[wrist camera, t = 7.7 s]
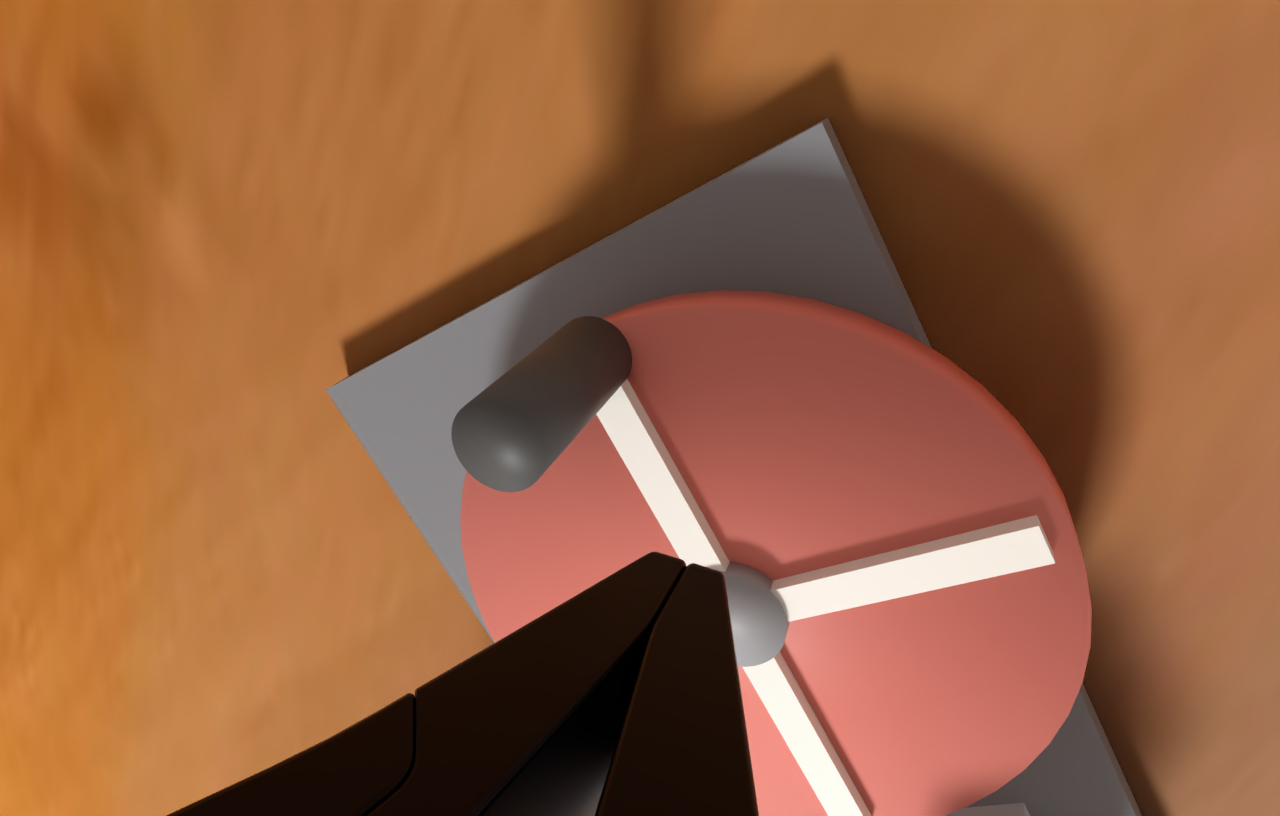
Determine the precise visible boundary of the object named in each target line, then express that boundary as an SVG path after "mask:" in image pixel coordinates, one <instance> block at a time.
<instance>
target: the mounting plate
mask: <svg viewBox="0 0 1280 816" xmlns="http://www.w3.org/2000/svg"><path fill="white" fill-rule="evenodd" d="M717 290H732V291H761V292H772V293H778V294H784V295H790V296H796V297H802V298H809V299H814V300H817V301H821V302H824V303H828V304H831V305H834V306H838V307H841V308H845V309H848V310H851V311H855V312H858V313H861V314H863V315H865V316H868V317H870V318H872V319H875V320H877V321H879V322H882V323H884V324H886V325H889V326H891V327H893V328H895V329H898V330H900V331H902V332H905V333H906V334H908V335H910V336H911V337H913V338H915V339H916V340H918V341H920V342H921V343H923V344H925V345H927V346H928V347H930V348H932V347H931V345H930V343H929V341H928V338H927V336H926V334H925V332H924V330H923V327H922V325H921V323H920V321H919V318H918V316H917V314H916V312H915V310H914V307H913V305H912V303H911V301H910V298H909V296H908V294H907V292H906V290H905V287H904V285H903V283H902V281H901V278H900V276H899V274H898V272H897V270H896V267H895V265H894V263H893V261H892V258H891V256H890V254H889V252H888V250H887V247H886V245H885V243H884V241H883V238H882V236H881V234H880V232H879V229H878V227H877V225H876V223H875V221H874V218H873V216H872V214H871V212H870V209H869V207H868V205H867V203H866V201H865V198H864V196H863V194H862V192H861V189H860V187H859V185H858V183H857V181H856V178H855V176H854V174H853V172H852V169H851V167H850V165H849V163H848V161H847V158H846V156H845V154H844V152H843V149H842V147H841V145H840V143H839V141H838V138H837V136H836V134H835V132H834V129H833V127H832V125H831V123H830V121H829V118H826V119H824V120H822V121H820V122H818V123H816V124H815V125H813V126H811V127H809V128H807V129H805V130H803V131H802V132H800V133H798V134H796V135H794V136H792V137H791V138H789V139H787V140H785V141H783V142H781V143H779V144H778V145H776V146H774V147H772V148H770V149H768V150H766V151H765V152H763V153H761V154H759V155H757V156H755V157H754V158H752V159H750V160H748V161H746V162H744V163H742V164H741V165H739V166H737V167H735V168H733V169H731V170H729V171H728V172H726V173H724V174H722V175H720V176H718V177H717V178H715V179H713V180H711V181H709V182H707V183H705V184H704V185H702V186H700V187H698V188H696V189H694V190H692V191H691V192H689V193H687V194H685V195H683V196H681V197H679V198H678V199H676V200H674V201H672V202H670V203H668V204H667V205H665V206H663V207H661V208H659V209H657V210H655V211H654V212H652V213H650V214H648V215H646V216H644V217H642V218H641V219H639V220H637V221H635V222H633V223H631V224H630V225H628V226H626V227H624V228H622V229H620V230H618V231H617V232H615V233H613V234H611V235H609V236H607V237H605V238H604V239H602V240H600V241H598V242H596V243H594V244H593V245H591V246H589V247H587V248H585V249H583V250H581V251H580V252H578V253H576V254H574V255H572V256H570V257H568V258H567V259H565V260H563V261H561V262H559V263H557V264H555V265H554V266H552V267H550V268H548V269H546V270H544V271H543V272H541V273H539V274H537V275H535V276H533V277H531V278H530V279H528V280H526V281H524V282H522V283H520V284H518V285H517V286H515V287H513V288H511V289H509V290H507V291H506V292H504V293H502V294H500V295H498V296H496V297H494V298H493V299H491V300H489V301H487V302H485V303H483V304H481V305H480V306H478V307H476V308H474V309H472V310H470V311H469V312H467V313H465V314H463V315H461V316H459V317H457V318H456V319H454V320H452V321H450V322H448V323H446V324H444V325H443V326H441V327H439V328H437V329H435V330H433V331H431V332H430V333H428V334H426V335H424V336H422V337H420V338H419V339H417V340H415V341H413V342H411V343H409V344H407V345H406V346H404V347H402V348H400V349H398V350H396V351H394V352H393V353H391V354H389V355H387V356H385V357H383V358H382V359H380V360H378V361H376V362H374V363H372V364H370V365H369V366H367V367H365V368H363V369H361V370H359V371H357V372H356V373H354V374H352V375H350V376H348V377H346V378H345V379H343V380H341V381H340V382H338V383H336V384H335V385H333V386H331V387H330V388H328V389H326V391H327V392H328V394H329V395H330V397H331V398H332V400H333V401H334V403H335V404H336V406H337V407H338V409H339V410H340V412H341V413H342V415H343V416H344V418H345V419H346V421H347V423H348V424H349V426H350V427H351V429H352V430H353V432H354V433H355V435H356V436H357V438H358V439H359V441H360V442H361V444H362V445H363V447H364V448H365V450H366V451H367V453H368V454H369V456H370V457H371V459H372V460H373V462H374V463H375V465H376V466H377V468H378V469H379V471H380V472H381V474H382V475H383V477H384V478H385V480H386V481H387V483H388V484H389V486H390V487H391V489H392V490H393V492H394V493H395V495H396V496H397V498H398V499H399V501H400V502H401V504H402V505H403V507H404V508H405V510H406V511H407V513H408V514H409V516H410V517H411V519H412V520H413V522H414V523H415V525H416V526H417V528H418V529H419V531H420V532H421V534H422V535H423V537H424V538H425V540H426V541H427V543H428V544H429V546H430V547H431V549H432V550H433V552H434V553H435V555H436V556H437V558H438V559H439V561H440V562H441V564H442V565H443V567H444V568H445V570H446V571H447V573H448V574H449V576H450V577H451V579H452V580H453V582H454V583H455V585H456V586H457V588H458V589H459V591H460V592H461V594H462V595H463V597H464V598H465V600H466V601H467V603H468V604H469V606H470V607H471V609H472V610H473V612H474V613H475V615H476V616H477V618H478V619H479V621H480V622H481V624H482V625H483V627H484V628H485V630H486V631H487V633H488V634H489V636H490V637H491V639H492V640H493V638H492V636H491V635H490V633H489V630H488V628H487V626H486V624H485V622H484V620H483V617H482V615H481V613H480V611H479V609H478V606H477V604H476V601H475V598H474V594H473V591H472V588H471V585H470V582H469V579H468V576H467V570H466V565H465V560H464V555H463V550H462V539H461V521H460V514H461V502H462V491H463V484H464V480H465V476H466V472H467V470H466V469H465V468H464V467H463V465H462V464H461V463H460V461H459V459H458V457H457V455H456V453H455V450H454V447H453V443H452V436H451V431H452V424H453V421H454V418H455V416H456V414H457V413H458V412H459V410H460V409H461V408H462V407H464V406H465V405H466V404H467V403H469V402H470V401H471V400H472V399H474V398H475V397H476V396H477V395H479V394H480V393H481V392H482V391H484V390H485V389H486V388H487V387H488V386H490V385H491V384H492V383H493V382H495V381H496V380H497V379H498V378H500V377H501V376H502V375H503V374H505V373H506V372H507V371H508V370H510V369H511V368H512V367H513V366H515V365H516V364H517V363H518V362H520V361H521V360H522V359H523V358H525V357H526V356H527V355H528V354H530V353H531V352H532V351H533V350H535V349H536V348H537V347H538V346H540V345H541V344H542V343H543V342H545V341H546V340H547V339H548V338H550V337H551V336H552V335H553V334H554V333H556V332H557V331H558V330H559V329H561V328H562V327H563V326H564V325H566V324H567V323H568V322H570V321H571V320H573V319H575V318H578V317H582V316H594V317H598V318H603V317H606V316H608V315H611V314H613V313H616V312H618V311H621V310H624V309H626V308H629V307H631V306H634V305H636V304H639V303H643V302H648V301H652V300H656V299H660V298H665V297H669V296H673V295H677V294H686V293H697V292H707V291H717ZM493 642H494V643H495V641H494V640H493ZM944 816H1142V814H1141V812H1140V810H1139V807H1138V805H1137V803H1136V801H1135V798H1134V796H1133V794H1132V792H1131V790H1130V787H1129V785H1128V783H1127V781H1126V778H1125V776H1124V774H1123V772H1122V770H1121V767H1120V765H1119V763H1118V761H1117V758H1116V756H1115V754H1114V752H1113V750H1112V747H1111V745H1110V743H1109V741H1108V738H1107V736H1106V734H1105V732H1104V730H1103V727H1102V725H1101V723H1100V721H1099V718H1098V716H1097V714H1096V712H1095V710H1094V707H1093V705H1092V703H1091V701H1090V698H1089V696H1088V694H1087V692H1086V690H1085V687H1084V685H1083V683H1082V685H1081V688H1080V690H1079V692H1078V695H1077V697H1076V699H1075V701H1074V704H1073V706H1072V708H1071V711H1070V713H1069V715H1068V717H1067V718H1066V720H1065V721H1064V723H1063V724H1062V726H1061V727H1060V729H1059V730H1058V732H1057V733H1056V735H1055V736H1054V738H1053V739H1052V741H1051V742H1050V744H1049V745H1048V746H1047V747H1046V748H1045V749H1044V750H1043V751H1042V752H1041V753H1040V754H1039V755H1038V756H1037V757H1036V758H1035V760H1034V761H1033V762H1032V763H1031V764H1030V765H1029V766H1028V767H1027V768H1026V769H1025V770H1024V771H1022V772H1021V773H1020V774H1018V775H1017V776H1016V777H1014V778H1013V779H1012V780H1010V781H1009V782H1008V783H1006V784H1005V785H1004V786H1002V787H1001V788H1000V789H998V790H997V791H995V792H993V793H991V794H989V795H988V796H986V797H984V798H982V799H980V800H978V801H977V802H975V803H973V804H971V805H969V806H967V807H965V808H962V809H960V810H957V811H955V812H952V813H949V814H947V815H944Z"/></svg>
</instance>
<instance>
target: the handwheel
mask: <svg viewBox="0 0 1280 816" xmlns="http://www.w3.org/2000/svg"><path fill="white" fill-rule="evenodd" d="M451 436H452V443H453V447H454V450H455V453H456V455H457V457H458V459H459V461H460V463H461V464H462V465H463V467H464V468H465V469H466V470H467V472H466V476H465V480H464V484H463V491H462V502H461V514H460V521H461V539H462V550H463V555H464V560H465V565H466V570H467V576H468V579H469V582H470V585H471V588H472V591H473V594H474V598H475V601H476V604H477V606H478V609H479V611H480V613H481V615H482V617H483V620H484V622H485V624H486V626H487V628H488V630H489V633H490V635H491V636H492V638H493V640H494V641H495V643H496V642H497V641H499V640H501V639H502V638H504V637H506V636H508V635H509V634H511V633H513V632H514V631H516V630H518V629H520V628H521V627H523V626H525V625H526V624H528V623H530V622H531V621H533V620H535V619H537V618H538V617H540V616H542V615H543V614H545V613H547V612H549V611H550V610H552V609H554V608H555V607H557V606H559V605H560V604H562V603H564V602H566V601H567V600H569V599H571V598H572V597H574V596H576V595H578V594H579V593H581V592H583V591H584V590H586V589H588V588H589V587H591V586H593V585H595V584H596V583H598V582H600V581H601V580H603V579H605V578H607V577H608V576H610V575H612V574H613V573H615V572H617V571H618V570H620V569H622V568H624V567H625V566H627V565H629V564H630V563H632V562H634V561H636V560H637V559H639V558H641V557H642V556H644V555H646V554H648V553H650V552H654V551H655V552H660V553H663V554H666V555H669V556H673V557H676V558H679V559H682V560H684V561H685V563H686V566H688V565H689V564H692V563H695V564H698V565H702V566H705V567H708V568H711V569H714V570H718V571H720V572H722V573H723V575H724V577H725V583H726V589H727V596H728V603H729V610H730V617H731V624H732V631H733V638H734V645H735V652H736V659H737V666H738V673H739V680H740V687H741V694H742V701H743V708H744V715H745V722H746V729H747V735H748V742H749V749H750V756H751V763H752V770H753V777H754V784H755V791H756V798H757V805H758V812H759V816H944V815H947V814H949V813H952V812H955V811H957V810H960V809H962V808H965V807H967V806H969V805H971V804H973V803H975V802H977V801H978V800H980V799H982V798H984V797H986V796H988V795H989V794H991V793H993V792H995V791H997V790H998V789H1000V788H1001V787H1002V786H1004V785H1005V784H1006V783H1008V782H1009V781H1010V780H1012V779H1013V778H1014V777H1016V776H1017V775H1018V774H1020V773H1021V772H1022V771H1024V770H1025V769H1026V768H1027V767H1028V766H1029V765H1030V764H1031V763H1032V762H1033V761H1034V760H1035V758H1036V757H1037V756H1038V755H1039V754H1040V753H1041V752H1042V751H1043V750H1044V749H1045V748H1046V747H1047V746H1048V745H1049V744H1050V742H1051V741H1052V739H1053V738H1054V736H1055V735H1056V733H1057V732H1058V730H1059V729H1060V727H1061V726H1062V724H1063V723H1064V721H1065V720H1066V718H1067V717H1068V715H1069V713H1070V711H1071V708H1072V706H1073V704H1074V701H1075V699H1076V697H1077V695H1078V692H1079V690H1080V688H1081V685H1082V683H1083V679H1084V674H1085V670H1086V665H1087V661H1088V656H1089V652H1090V647H1091V620H1092V606H1091V599H1090V593H1089V586H1088V579H1087V573H1086V567H1085V563H1084V559H1083V555H1082V551H1081V547H1080V544H1079V540H1078V536H1077V533H1076V530H1075V527H1074V524H1073V521H1072V518H1071V515H1070V512H1069V509H1068V506H1067V503H1066V500H1065V497H1064V494H1063V492H1062V490H1061V489H1060V487H1059V485H1058V483H1057V481H1056V479H1055V477H1054V475H1053V473H1052V471H1051V469H1050V468H1049V466H1048V464H1047V462H1046V460H1045V458H1044V456H1043V455H1042V454H1041V452H1040V451H1039V450H1038V448H1037V447H1036V445H1035V444H1034V443H1033V441H1032V440H1031V439H1030V437H1029V436H1028V435H1027V433H1026V432H1025V430H1024V429H1023V428H1022V426H1021V425H1020V424H1019V422H1018V421H1017V420H1016V419H1015V418H1014V417H1013V416H1012V415H1011V414H1010V413H1009V412H1008V411H1007V410H1006V409H1005V408H1004V407H1003V405H1002V404H1001V403H1000V402H999V401H998V400H997V399H996V398H995V397H994V396H993V395H992V394H991V393H990V392H989V391H988V390H987V389H986V388H985V387H984V386H983V385H981V384H980V383H979V382H977V381H976V380H975V379H974V378H972V377H971V376H970V375H968V374H967V373H966V372H965V371H963V370H962V369H961V368H959V367H958V366H957V365H956V364H954V363H953V362H952V361H951V360H949V359H948V358H947V357H945V356H943V355H942V354H940V353H938V352H937V351H935V350H933V349H932V348H930V347H928V346H927V345H925V344H923V343H921V342H920V341H918V340H916V339H915V338H913V337H911V336H910V335H908V334H906V333H905V332H902V331H900V330H898V329H895V328H893V327H891V326H889V325H886V324H884V323H882V322H879V321H877V320H875V319H872V318H870V317H868V316H865V315H863V314H861V313H858V312H855V311H851V310H848V309H845V308H841V307H838V306H834V305H831V304H828V303H824V302H821V301H817V300H814V299H809V298H802V297H796V296H790V295H784V294H778V293H772V292H761V291H732V290H717V291H707V292H697V293H686V294H677V295H673V296H669V297H665V298H660V299H656V300H652V301H648V302H643V303H639V304H636V305H634V306H631V307H629V308H626V309H624V310H621V311H618V312H616V313H613V314H611V315H608V316H606V317H603V318H598V317H594V316H582V317H578V318H575V319H573V320H571V321H570V322H568V323H567V324H566V325H564V326H563V327H562V328H561V329H559V330H558V331H557V332H556V333H554V334H553V335H552V336H551V337H550V338H548V339H547V340H546V341H545V342H543V343H542V344H541V345H540V346H538V347H537V348H536V349H535V350H533V351H532V352H531V353H530V354H528V355H527V356H526V357H525V358H523V359H522V360H521V361H520V362H518V363H517V364H516V365H515V366H513V367H512V368H511V369H510V370H508V371H507V372H506V373H505V374H503V375H502V376H501V377H500V378H498V379H497V380H496V381H495V382H493V383H492V384H491V385H490V386H488V387H487V388H486V389H485V390H484V391H482V392H481V393H480V394H479V395H477V396H476V397H475V398H474V399H472V400H471V401H470V402H469V403H467V404H466V405H465V406H464V407H462V408H461V409H460V410H459V412H458V413H457V414H456V416H455V418H454V421H453V424H452V431H451Z"/></svg>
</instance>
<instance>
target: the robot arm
mask: <svg viewBox="0 0 1280 816" xmlns="http://www.w3.org/2000/svg"><path fill="white" fill-rule="evenodd" d="M166 816H759V812H758V805H757V798H756V791H755V784H754V777H753V770H752V763H751V756H750V749H749V742H748V735H747V729H746V722H745V715H744V708H743V701H742V694H741V687H740V680H739V673H738V666H737V659H736V652H735V645H734V638H733V631H732V624H731V617H730V610H729V603H728V596H727V589H726V583H725V577H724V575H723V573H722V572H720V571H718V570H714V569H711V568H708V567H705V566H702V565H698V564H695V563H692V564H689V565H688V566H686V563H685V561H684V560H682V559H679V558H676V557H673V556H669V555H666V554H663V553H660V552H655V551H654V552H650V553H648V554H646V555H644V556H642V557H641V558H639V559H637V560H636V561H634V562H632V563H630V564H629V565H627V566H625V567H624V568H622V569H620V570H618V571H617V572H615V573H613V574H612V575H610V576H608V577H607V578H605V579H603V580H601V581H600V582H598V583H596V584H595V585H593V586H591V587H589V588H588V589H586V590H584V591H583V592H581V593H579V594H578V595H576V596H574V597H572V598H571V599H569V600H567V601H566V602H564V603H562V604H560V605H559V606H557V607H555V608H554V609H552V610H550V611H549V612H547V613H545V614H543V615H542V616H540V617H538V618H537V619H535V620H533V621H531V622H530V623H528V624H526V625H525V626H523V627H521V628H520V629H518V630H516V631H514V632H513V633H511V634H509V635H508V636H506V637H504V638H502V639H501V640H499V641H497V642H496V643H494V644H492V645H490V646H489V647H487V648H485V649H484V650H482V651H480V652H479V653H477V654H475V655H473V656H472V657H470V658H468V659H467V660H465V661H463V662H461V663H460V664H458V665H456V666H455V667H453V668H451V669H450V670H448V671H446V672H444V673H443V674H441V675H439V676H438V677H436V678H434V679H432V680H431V681H429V682H427V683H426V684H424V685H422V686H421V687H419V688H417V689H416V690H415V697H414V695H413V694H411V693H408V694H406V695H405V696H403V697H401V698H399V699H398V700H396V701H394V702H393V703H391V704H389V705H387V706H386V707H384V708H382V709H381V710H379V711H377V712H375V713H374V714H372V715H370V716H368V717H366V718H365V719H363V720H361V721H359V722H357V723H355V724H354V725H352V726H350V727H348V728H346V729H345V730H343V731H341V732H339V733H337V734H336V735H334V736H332V737H330V738H328V739H326V740H324V741H322V742H320V743H318V744H316V745H314V746H312V747H310V748H308V749H306V750H304V751H302V752H300V753H298V754H296V755H294V756H292V757H290V758H288V759H286V760H284V761H282V762H280V763H278V764H276V765H274V766H272V767H270V768H267V769H265V770H263V771H261V772H259V773H257V774H255V775H252V776H250V777H248V778H246V779H244V780H242V781H239V782H237V783H235V784H233V785H231V786H229V787H227V788H224V789H222V790H220V791H218V792H216V793H214V794H212V795H209V796H207V797H205V798H203V799H201V800H199V801H197V802H194V803H192V804H190V805H188V806H186V807H184V808H182V809H179V810H177V811H175V812H173V813H171V814H169V815H166Z"/></svg>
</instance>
